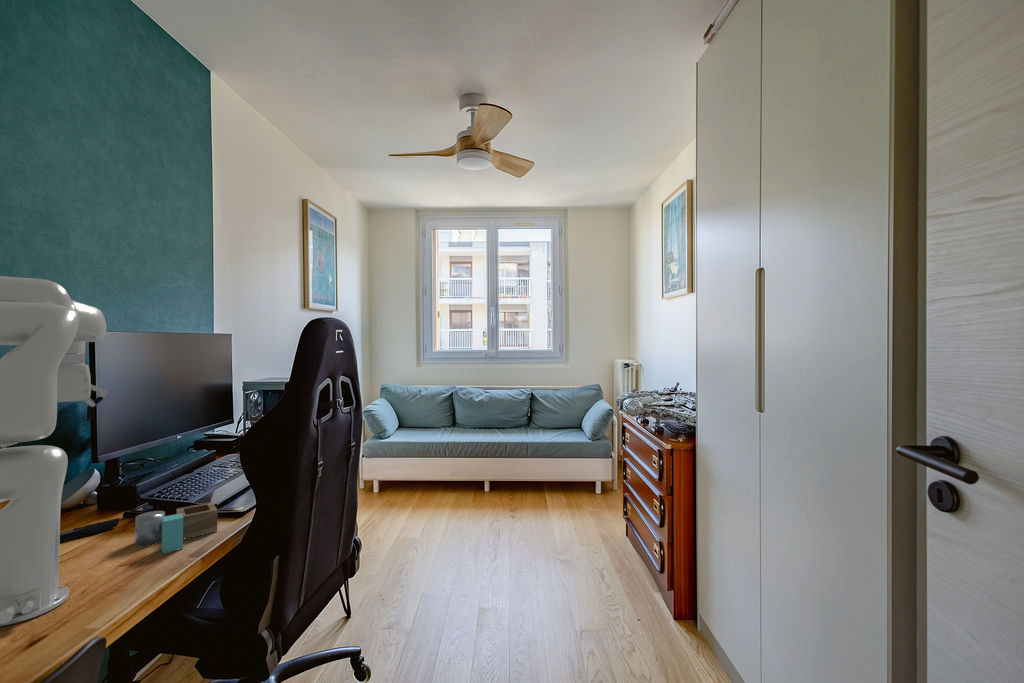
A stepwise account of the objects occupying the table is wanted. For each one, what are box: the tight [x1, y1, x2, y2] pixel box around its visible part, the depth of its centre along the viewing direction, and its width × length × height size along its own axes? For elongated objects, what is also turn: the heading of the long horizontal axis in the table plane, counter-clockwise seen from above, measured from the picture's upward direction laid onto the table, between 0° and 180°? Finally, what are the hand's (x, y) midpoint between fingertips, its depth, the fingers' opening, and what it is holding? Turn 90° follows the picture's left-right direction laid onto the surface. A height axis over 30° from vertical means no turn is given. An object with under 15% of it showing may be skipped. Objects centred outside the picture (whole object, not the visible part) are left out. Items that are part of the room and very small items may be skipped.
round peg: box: [134, 510, 166, 547], centre depth 116 cm, size 6×6×7 cm
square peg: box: [161, 513, 184, 554], centre depth 112 cm, size 4×4×8 cm
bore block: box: [175, 501, 219, 540], centre depth 122 cm, size 8×8×6 cm
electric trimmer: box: [60, 517, 120, 543], centre depth 118 cm, size 4×16×3 cm, turn 145°
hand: (64, 422), depth 120 cm, fingers open, 9 cm apart
